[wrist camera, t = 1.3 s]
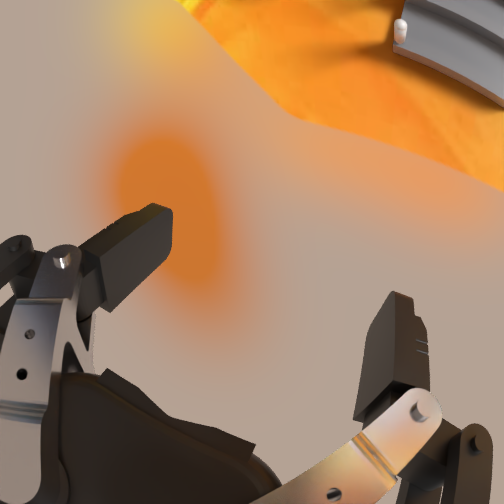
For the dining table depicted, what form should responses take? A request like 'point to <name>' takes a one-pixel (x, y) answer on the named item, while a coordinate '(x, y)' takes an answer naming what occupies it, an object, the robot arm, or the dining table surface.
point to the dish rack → (456, 41)
